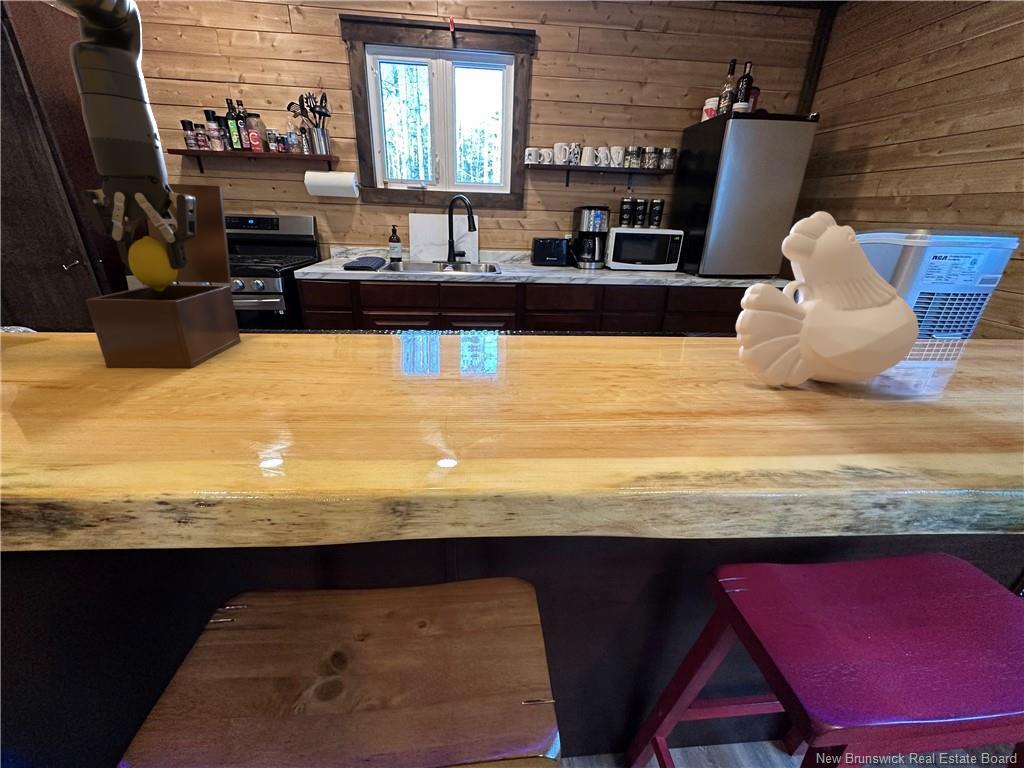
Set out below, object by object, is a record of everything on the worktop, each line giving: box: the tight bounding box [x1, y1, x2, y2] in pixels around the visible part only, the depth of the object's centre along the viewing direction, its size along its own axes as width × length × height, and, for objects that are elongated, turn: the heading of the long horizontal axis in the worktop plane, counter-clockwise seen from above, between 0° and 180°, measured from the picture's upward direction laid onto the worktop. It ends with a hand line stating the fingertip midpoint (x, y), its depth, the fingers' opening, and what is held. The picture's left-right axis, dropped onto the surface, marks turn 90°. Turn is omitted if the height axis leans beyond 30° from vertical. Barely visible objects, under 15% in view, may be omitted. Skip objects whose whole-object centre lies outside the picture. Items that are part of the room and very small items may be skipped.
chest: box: [85, 283, 242, 369], centre depth 68 cm, size 15×12×10 cm
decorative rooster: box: [735, 210, 920, 388], centre depth 67 cm, size 25×16×25 cm
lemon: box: [128, 235, 178, 292], centre depth 64 cm, size 6×6×8 cm
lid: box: [147, 183, 232, 284], centre depth 72 cm, size 15×12×1 cm
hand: (156, 267), depth 65 cm, fingers closed on lemon, 5 cm apart
